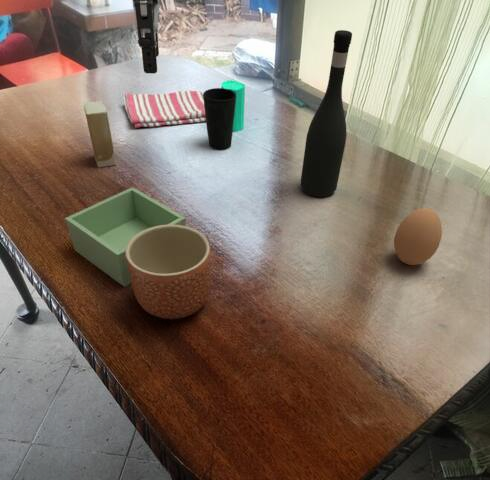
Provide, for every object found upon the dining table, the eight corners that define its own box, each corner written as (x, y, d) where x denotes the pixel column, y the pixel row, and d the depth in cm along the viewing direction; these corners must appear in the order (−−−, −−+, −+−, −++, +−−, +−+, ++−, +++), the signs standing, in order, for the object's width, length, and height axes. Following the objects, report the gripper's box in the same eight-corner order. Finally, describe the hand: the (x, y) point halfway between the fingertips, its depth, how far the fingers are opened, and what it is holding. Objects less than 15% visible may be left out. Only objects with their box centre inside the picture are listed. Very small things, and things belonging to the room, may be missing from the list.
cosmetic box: (94, 155, 107) (82, 101, 98) (112, 153, 108) (102, 99, 99) (98, 168, 103) (85, 113, 94) (117, 165, 104) (107, 111, 95)
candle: (218, 123, 122) (218, 74, 113) (240, 121, 123) (241, 73, 114) (224, 132, 118) (224, 83, 109) (246, 130, 119) (248, 81, 110)
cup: (239, 140, 115) (240, 90, 106) (230, 154, 110) (230, 102, 101) (210, 136, 116) (209, 86, 107) (200, 149, 111) (198, 97, 102)
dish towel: (123, 105, 128) (121, 92, 125) (203, 97, 133) (202, 85, 131) (132, 130, 117) (130, 116, 114) (219, 121, 122) (219, 108, 120)
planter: (120, 300, 74) (107, 246, 66) (179, 267, 80) (174, 214, 72) (167, 342, 68) (159, 288, 60) (227, 303, 74) (227, 250, 66)
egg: (389, 272, 81) (407, 220, 73) (386, 246, 86) (402, 195, 78) (432, 277, 80) (455, 225, 73) (426, 251, 86) (447, 200, 78)
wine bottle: (309, 176, 104) (332, 23, 82) (341, 186, 101) (373, 30, 79) (293, 191, 99) (313, 33, 77) (326, 202, 96) (356, 41, 74)
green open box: (124, 287, 76) (117, 255, 71) (74, 250, 82) (64, 218, 77) (188, 249, 84) (185, 217, 79) (137, 217, 90) (132, 186, 85)
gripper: (119, -67, 71) (132, 50, 83) (109, -52, 61) (126, 78, 73) (167, -64, 72) (174, 51, 83) (165, -49, 62) (173, 79, 74)
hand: (151, 64), depth 78 cm, fingers open, 8 cm apart
